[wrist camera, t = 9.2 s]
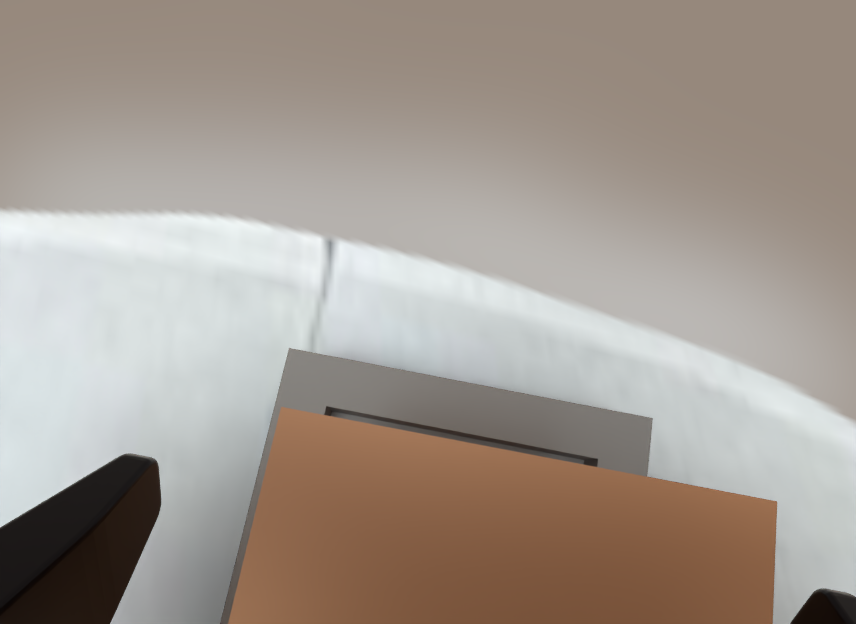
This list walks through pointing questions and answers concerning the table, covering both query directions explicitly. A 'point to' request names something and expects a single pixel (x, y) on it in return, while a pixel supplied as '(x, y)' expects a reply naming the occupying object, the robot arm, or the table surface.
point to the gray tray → (450, 419)
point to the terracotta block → (489, 537)
